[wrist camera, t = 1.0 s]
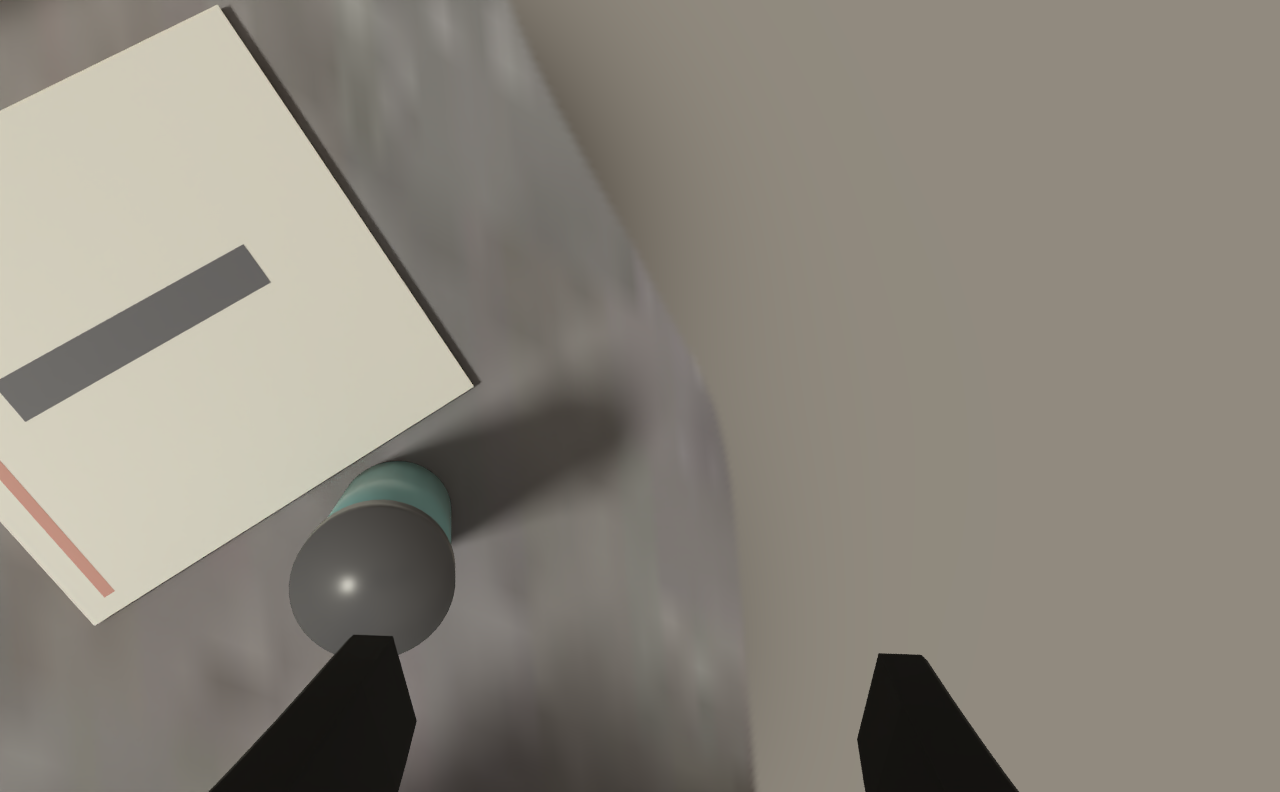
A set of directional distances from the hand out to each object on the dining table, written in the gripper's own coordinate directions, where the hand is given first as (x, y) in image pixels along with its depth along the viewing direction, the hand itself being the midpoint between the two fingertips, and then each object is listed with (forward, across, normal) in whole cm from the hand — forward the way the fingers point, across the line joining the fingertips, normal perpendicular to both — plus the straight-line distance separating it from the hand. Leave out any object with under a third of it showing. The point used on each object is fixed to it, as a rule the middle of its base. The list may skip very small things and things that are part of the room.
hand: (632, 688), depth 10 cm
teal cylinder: (+9, +8, +4) cm, 13 cm away
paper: (+10, +13, -2) cm, 17 cm away
